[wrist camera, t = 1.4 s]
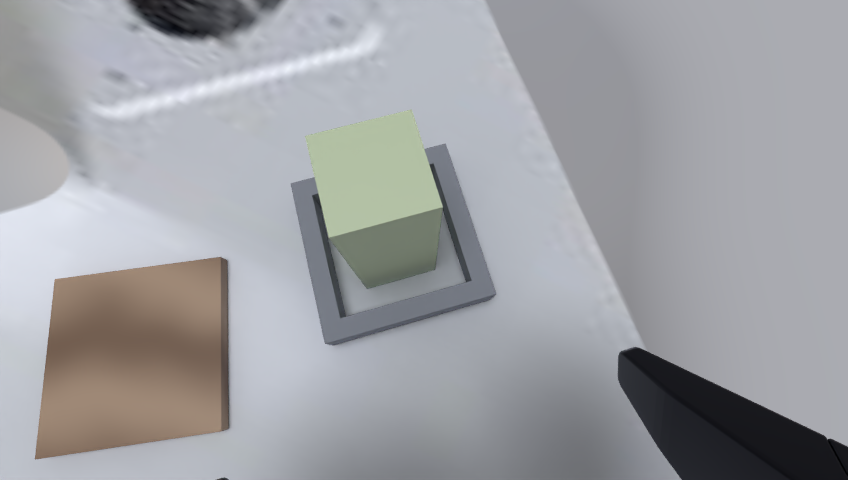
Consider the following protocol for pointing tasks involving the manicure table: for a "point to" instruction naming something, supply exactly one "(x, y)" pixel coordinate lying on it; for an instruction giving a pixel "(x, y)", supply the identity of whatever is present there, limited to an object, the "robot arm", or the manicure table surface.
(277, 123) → the manicure table surface
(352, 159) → the olive block
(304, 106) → the manicure table surface
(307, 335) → the manicure table surface
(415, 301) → the gray square frame
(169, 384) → the walnut pad
